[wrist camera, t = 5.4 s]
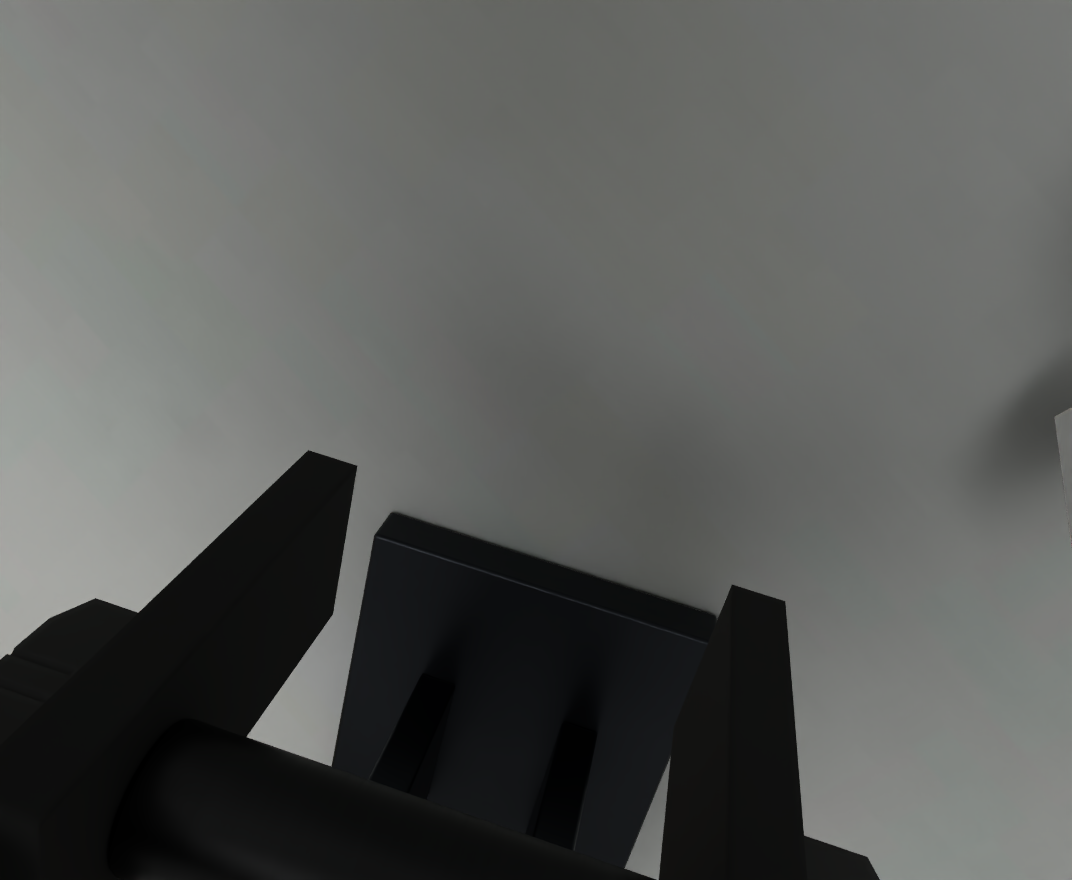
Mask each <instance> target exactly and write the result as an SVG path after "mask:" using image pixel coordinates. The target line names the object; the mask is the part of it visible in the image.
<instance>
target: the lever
mask: <svg viewBox="0 0 1072 880" xmlns="http://www.w3.org/2000/svg"><path fill="white" fill-rule="evenodd" d="M108 865H109V868H110V870H111V871H112V872H113V873H114V874H115V876H116V877H119V878H121V879H124V880H656V879H653V878H650V877H647V876H644V875H641V874H639V873H636V872H633V871H630V870H627V869H624V868H621V867H618V866H615V865H613V864H610V863H607V862H604V861H601V860H598V859H595V858H592V857H590V856H587V855H584V854H581V853H578V852H575V851H572V850H569V849H567V848H564V847H561V846H558V845H555V844H552V843H549V842H546V841H544V840H541V839H538V838H535V837H532V836H529V835H526V834H523V833H520V832H518V831H515V830H512V829H509V828H506V827H503V826H500V825H497V824H495V823H492V822H489V821H486V820H483V819H480V818H477V817H474V816H472V815H469V814H466V813H463V812H460V811H457V810H454V809H451V808H449V807H446V806H443V805H440V804H437V803H434V802H431V801H428V800H426V799H423V798H420V797H417V796H414V795H411V794H408V793H405V792H402V791H400V790H397V789H394V788H391V787H388V786H385V785H382V784H379V783H377V782H374V781H371V780H368V779H365V778H362V777H359V776H356V775H354V774H351V773H348V772H345V771H342V770H339V769H336V768H333V767H331V766H328V765H325V764H322V763H319V762H316V761H313V760H310V759H308V758H305V757H302V756H299V755H296V754H293V753H290V752H287V751H284V750H282V749H279V748H276V747H273V746H270V745H267V744H264V743H261V742H259V741H256V740H253V739H250V738H247V737H244V736H241V735H238V734H236V733H233V732H230V731H227V730H224V729H221V728H218V727H215V726H213V725H210V724H207V723H204V722H201V721H198V720H195V719H185V720H181V721H179V722H177V723H176V724H174V725H173V726H171V727H170V728H169V729H168V730H167V731H166V732H165V733H164V734H163V735H162V736H161V737H160V739H159V740H158V741H157V742H156V744H155V745H154V746H153V748H152V749H151V750H150V752H149V753H148V754H147V756H146V757H145V759H144V761H143V762H142V764H141V765H140V767H139V769H138V770H137V772H136V774H135V776H134V778H133V779H132V781H131V783H130V785H129V787H128V789H127V791H126V793H125V796H124V798H123V800H122V803H121V805H120V808H119V810H118V813H117V816H116V819H115V822H114V825H113V829H112V833H111V836H110V841H109V847H108Z"/></svg>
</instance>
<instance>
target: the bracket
mask: <svg viewBox="0 0 1072 880" xmlns="http://www.w3.org/2000/svg"><path fill="white" fill-rule="evenodd" d="M716 622H717V617H716V616H715V615H712V614H709V613H706V612H703V611H700V610H696V609H693V608H690V607H687V606H684V605H681V604H678V603H674V602H671V601H668V600H665V599H662V598H659V597H656V596H653V595H649V594H646V593H643V592H640V591H637V590H634V589H631V588H628V587H624V586H621V585H618V584H615V583H612V582H609V581H606V580H603V579H599V578H596V577H593V576H590V575H587V574H584V573H581V572H578V571H574V570H571V569H568V568H565V567H562V566H559V565H556V564H553V563H549V562H546V561H543V560H540V559H537V558H534V557H531V556H528V555H524V554H521V553H518V552H515V551H512V550H509V549H506V548H503V547H499V546H496V545H493V544H490V543H487V542H484V541H481V540H478V539H474V538H471V537H468V536H465V535H462V534H459V533H456V532H453V531H449V530H446V529H443V528H440V527H437V526H434V525H431V524H427V523H424V522H421V521H418V520H415V519H412V518H409V517H406V516H402V515H399V514H396V513H391V514H390V515H389V516H388V518H387V519H386V520H385V522H384V523H383V524H382V526H381V527H380V528H379V530H378V531H377V532H376V534H375V535H374V540H373V545H372V551H371V556H370V562H369V567H368V572H367V578H366V583H365V589H364V594H363V599H362V605H361V610H360V616H359V621H358V626H357V632H356V637H355V643H354V648H353V654H352V659H351V664H350V670H349V675H348V681H347V686H346V691H345V697H344V702H343V708H342V713H341V718H340V724H339V729H338V735H337V740H336V745H335V751H334V756H333V762H332V767H333V768H336V769H339V770H342V771H345V772H348V773H351V774H354V775H356V776H359V777H362V778H365V779H368V780H371V781H374V782H377V783H379V784H382V785H385V786H388V787H391V788H394V789H397V790H400V791H402V792H405V793H408V794H411V795H414V796H417V797H420V798H423V799H426V800H428V801H431V802H434V803H437V804H440V805H443V806H446V807H449V808H451V809H454V810H457V811H460V812H463V813H466V814H469V815H472V816H474V817H477V818H480V819H483V820H486V821H489V822H492V823H495V824H497V825H500V826H503V827H506V828H509V829H512V830H515V831H518V832H520V833H523V834H526V835H529V836H532V837H535V838H538V839H541V840H544V841H546V842H549V843H552V844H555V845H558V846H561V847H564V848H567V849H569V850H572V851H575V852H578V853H581V854H584V855H587V856H590V857H592V858H595V859H598V860H601V861H604V862H607V863H610V864H613V865H615V866H618V867H621V868H625V866H626V864H627V861H628V859H629V856H630V854H631V851H632V849H633V846H634V844H635V842H636V839H637V837H638V834H639V832H640V829H641V827H642V825H643V822H644V820H645V817H646V815H647V812H648V810H649V807H650V805H651V803H652V800H653V798H654V795H655V793H656V790H657V788H658V785H659V783H660V781H661V778H662V776H663V773H664V771H665V768H666V766H667V764H668V761H669V759H670V756H671V750H672V740H673V729H674V725H675V723H676V720H677V718H678V716H679V713H680V711H681V708H682V706H683V703H684V701H685V698H686V696H687V694H688V691H689V689H690V686H691V684H692V681H693V679H694V676H695V674H696V671H697V669H698V667H699V664H700V662H701V659H702V657H703V654H704V652H705V649H706V647H707V645H708V642H709V640H710V637H711V635H712V632H713V630H714V627H715V625H716Z"/></svg>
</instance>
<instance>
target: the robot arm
mask: <svg viewBox="0 0 1072 880" xmlns="http://www.w3.org/2000/svg"><path fill="white" fill-rule="evenodd" d="M356 471H357V466H356V465H353V464H350V463H347V462H344V461H340V460H337V459H334V458H331V457H328V456H325V455H322V454H318V453H315V452H312V451H309V450H308V451H307V452H306V453H305V454H304V455H303V456H302V457H301V458H300V459H299V460H298V461H297V462H296V463H294V464H293V465H292V466H291V467H290V468H289V469H288V470H287V471H286V472H285V473H284V474H283V475H282V476H281V477H280V478H279V479H278V480H277V481H276V482H275V483H274V484H273V485H272V486H270V487H269V488H268V489H267V490H266V491H265V492H264V493H263V494H262V495H261V496H260V497H259V498H258V499H257V500H256V501H255V502H254V503H253V504H252V505H251V506H250V507H249V508H247V509H246V510H245V511H244V512H243V513H242V514H241V515H240V516H239V517H238V518H237V519H236V520H235V521H234V522H233V523H232V524H231V525H230V526H229V527H228V528H227V529H226V530H225V531H223V532H222V533H221V534H220V535H219V536H218V537H217V538H216V539H215V540H214V541H213V542H212V543H211V544H210V545H209V546H208V547H207V548H206V549H205V550H204V551H203V552H202V553H200V554H199V555H198V556H197V557H196V558H195V559H194V560H193V561H192V562H191V563H190V564H189V565H188V566H187V567H186V568H185V569H184V570H183V571H182V572H181V573H180V574H179V575H178V576H176V577H175V578H174V579H173V580H172V581H171V582H170V583H169V584H168V585H167V586H166V587H165V588H164V589H163V590H162V591H161V592H160V593H159V594H158V595H157V596H156V597H155V598H153V599H152V600H151V601H150V602H149V603H148V604H147V605H146V606H145V607H144V608H143V609H142V610H141V611H140V612H139V613H137V612H134V611H131V610H128V609H125V608H122V607H120V606H117V605H114V604H111V603H108V602H105V601H102V600H99V599H96V598H95V599H93V600H91V601H88V602H86V603H84V604H81V605H79V606H77V607H75V608H72V609H70V610H68V611H65V612H63V613H61V614H58V615H56V616H54V617H51V618H49V619H48V620H47V621H46V622H45V623H43V624H42V625H41V626H40V627H39V628H37V629H36V630H35V631H34V632H33V633H31V634H30V635H29V636H28V637H27V638H26V639H24V640H23V641H22V642H21V643H20V644H18V645H17V646H16V647H15V648H14V651H13V653H12V654H11V655H8V654H7V655H5V656H4V657H3V658H2V659H1V660H0V880H124V879H121V878H119V877H116V876H115V874H114V873H113V872H112V871H111V870H110V868H109V865H108V847H109V841H110V836H111V833H112V829H113V825H114V822H115V819H116V816H117V813H118V810H119V808H120V805H121V803H122V800H123V798H124V796H125V793H126V791H127V789H128V787H129V785H130V783H131V781H132V779H133V778H134V776H135V774H136V772H137V770H138V769H139V767H140V765H141V764H142V762H143V761H144V759H145V757H146V756H147V754H148V753H149V752H150V750H151V749H152V748H153V746H154V745H155V744H156V742H157V741H158V740H159V739H160V737H161V736H162V735H163V734H164V733H165V732H166V731H167V730H168V729H169V728H170V727H171V726H173V725H174V724H176V723H177V722H179V721H181V720H185V719H195V720H198V721H201V722H204V723H207V724H210V725H213V726H215V727H218V728H221V729H224V730H227V731H230V732H233V733H236V734H238V735H241V736H244V737H247V735H248V734H249V732H250V731H251V729H252V728H253V727H254V725H255V724H256V722H257V721H258V720H259V718H260V717H261V715H262V714H263V712H264V711H265V710H266V708H267V707H268V705H269V704H270V703H271V701H272V700H273V698H274V697H275V695H276V694H277V693H278V691H279V690H280V688H281V687H282V686H283V684H284V683H285V681H286V680H287V678H288V677H289V676H290V674H291V673H292V671H293V670H294V669H295V667H296V666H297V664H298V663H299V661H300V660H301V659H302V657H303V656H304V654H305V653H306V652H307V650H308V649H309V647H310V646H311V644H312V643H313V642H314V640H315V639H316V637H317V636H318V634H319V633H320V632H321V630H322V629H323V627H324V626H325V625H326V623H327V622H328V620H329V619H330V617H331V616H332V615H333V611H334V604H335V598H336V592H337V586H338V580H339V574H340V568H341V562H342V556H343V550H344V544H345V538H346V531H347V525H348V519H349V513H350V507H351V501H352V495H353V489H354V483H355V477H356ZM659 880H880V879H879V877H878V876H877V874H876V872H875V870H874V868H873V867H872V865H871V863H870V861H869V859H868V857H865V856H863V855H860V854H857V853H854V852H851V851H848V850H845V849H842V848H839V847H836V846H833V845H830V844H827V843H824V842H821V841H818V840H815V839H812V838H810V837H807V836H804V831H803V818H802V806H801V793H800V780H799V768H798V755H797V743H796V730H795V717H794V705H793V692H792V680H791V667H790V654H789V642H788V629H787V616H786V604H785V601H782V600H779V599H776V598H773V597H770V596H767V595H763V594H760V593H757V592H754V591H751V590H748V589H745V588H741V587H738V586H735V585H732V586H731V588H730V591H729V593H728V596H727V598H726V600H725V603H724V605H723V608H722V610H721V613H720V615H719V618H718V620H717V622H716V625H715V627H714V630H713V632H712V635H711V637H710V640H709V642H708V645H707V647H706V649H705V652H704V654H703V657H702V659H701V662H700V664H699V667H698V669H697V671H696V674H695V676H694V679H693V681H692V684H691V686H690V689H689V691H688V694H687V696H686V698H685V701H684V703H683V706H682V708H681V711H680V713H679V716H678V718H677V720H676V723H675V725H674V729H673V740H672V750H671V760H670V770H669V781H668V791H667V801H666V812H665V822H664V832H663V843H662V853H661V863H660V874H659Z"/></svg>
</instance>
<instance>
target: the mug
mask: <svg viewBox="0 0 1072 880" xmlns="http://www.w3.org/2000/svg"><path fill="white" fill-rule="evenodd" d="M1054 418H1055V426H1056V433H1057V441H1058V448H1059V456H1060V463H1061V471H1062V479H1063V486H1064V494H1065V501H1066V509H1067V516H1068V524H1069V531H1070V539H1071V546H1072V407H1071V408H1069V409H1068V410H1066V411H1064V412H1062V413H1060V414H1058V415H1057V416H1055V417H1054Z"/></svg>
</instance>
